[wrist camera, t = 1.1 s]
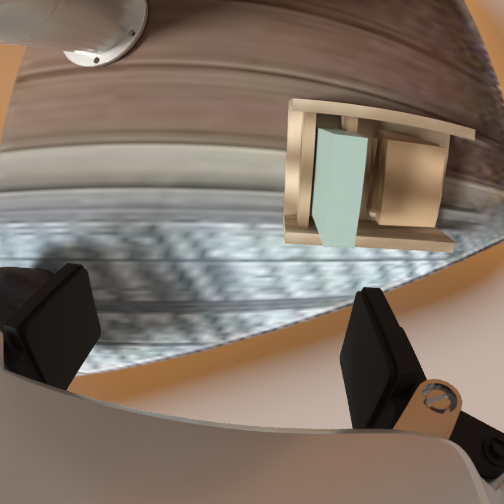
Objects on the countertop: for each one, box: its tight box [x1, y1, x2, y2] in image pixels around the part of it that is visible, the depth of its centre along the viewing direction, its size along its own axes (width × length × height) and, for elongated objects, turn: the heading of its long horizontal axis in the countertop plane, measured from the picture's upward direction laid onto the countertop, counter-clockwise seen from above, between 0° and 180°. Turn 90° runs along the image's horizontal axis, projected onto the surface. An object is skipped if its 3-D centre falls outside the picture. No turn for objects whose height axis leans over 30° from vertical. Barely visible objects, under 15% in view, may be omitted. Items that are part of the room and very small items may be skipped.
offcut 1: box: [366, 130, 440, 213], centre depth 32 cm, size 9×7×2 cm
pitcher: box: [0, 267, 54, 335], centre depth 35 cm, size 21×22×25 cm
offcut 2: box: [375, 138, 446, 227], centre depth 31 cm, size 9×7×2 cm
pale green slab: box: [310, 126, 368, 248], centre depth 29 cm, size 9×3×12 cm, turn 178°
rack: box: [283, 99, 475, 252], centre depth 33 cm, size 14×20×7 cm
